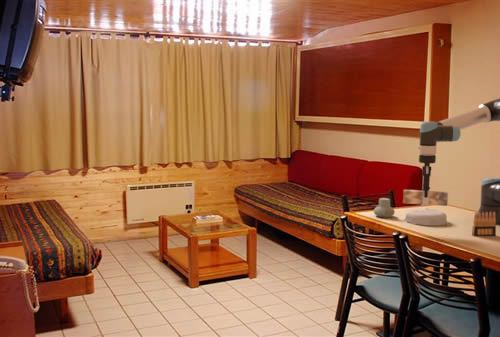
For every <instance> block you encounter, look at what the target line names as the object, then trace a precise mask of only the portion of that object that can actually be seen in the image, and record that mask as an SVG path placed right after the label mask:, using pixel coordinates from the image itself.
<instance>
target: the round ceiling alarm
mask: <svg viewBox="0 0 500 337" xmlns="http://www.w3.org/2000/svg"><path fill="white" fill-rule="evenodd" d="M447 220H448V219H447V213H446V212H444V211H443V210H439V209H435V208H427V207H426V208H425V209H412V210H407V212H406V213H405V218H403V221H406V222H408V223H409V224H413V225H417V226H418V225H419V226H427V227H431V226H433V227H437V226H448V225H450V223H449V222H448V221H447Z"/></svg>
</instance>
